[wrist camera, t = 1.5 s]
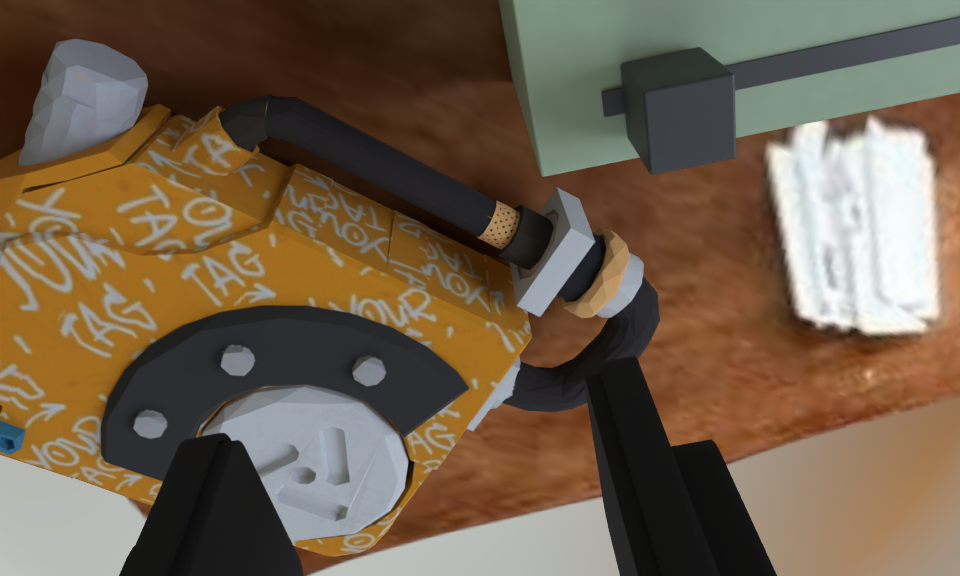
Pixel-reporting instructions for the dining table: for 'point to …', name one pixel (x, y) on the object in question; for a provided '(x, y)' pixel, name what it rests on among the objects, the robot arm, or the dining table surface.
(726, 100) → the slider
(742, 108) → the toaster
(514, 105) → the dining table surface
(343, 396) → the device
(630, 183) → the dining table surface
